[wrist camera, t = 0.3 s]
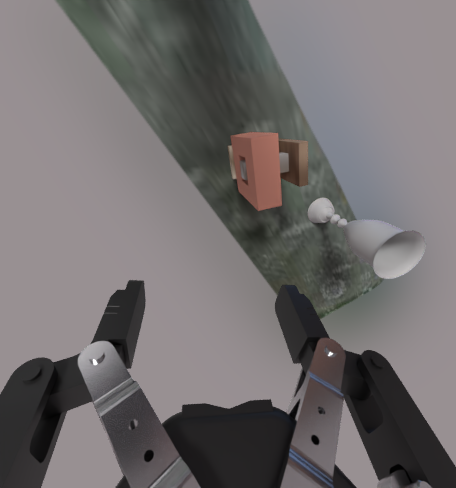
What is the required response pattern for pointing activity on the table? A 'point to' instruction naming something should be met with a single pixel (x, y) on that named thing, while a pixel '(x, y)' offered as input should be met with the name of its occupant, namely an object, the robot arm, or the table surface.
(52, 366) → the robot arm
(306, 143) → the pipe stand
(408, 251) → the chalice
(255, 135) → the pink block with hole
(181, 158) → the table surface
